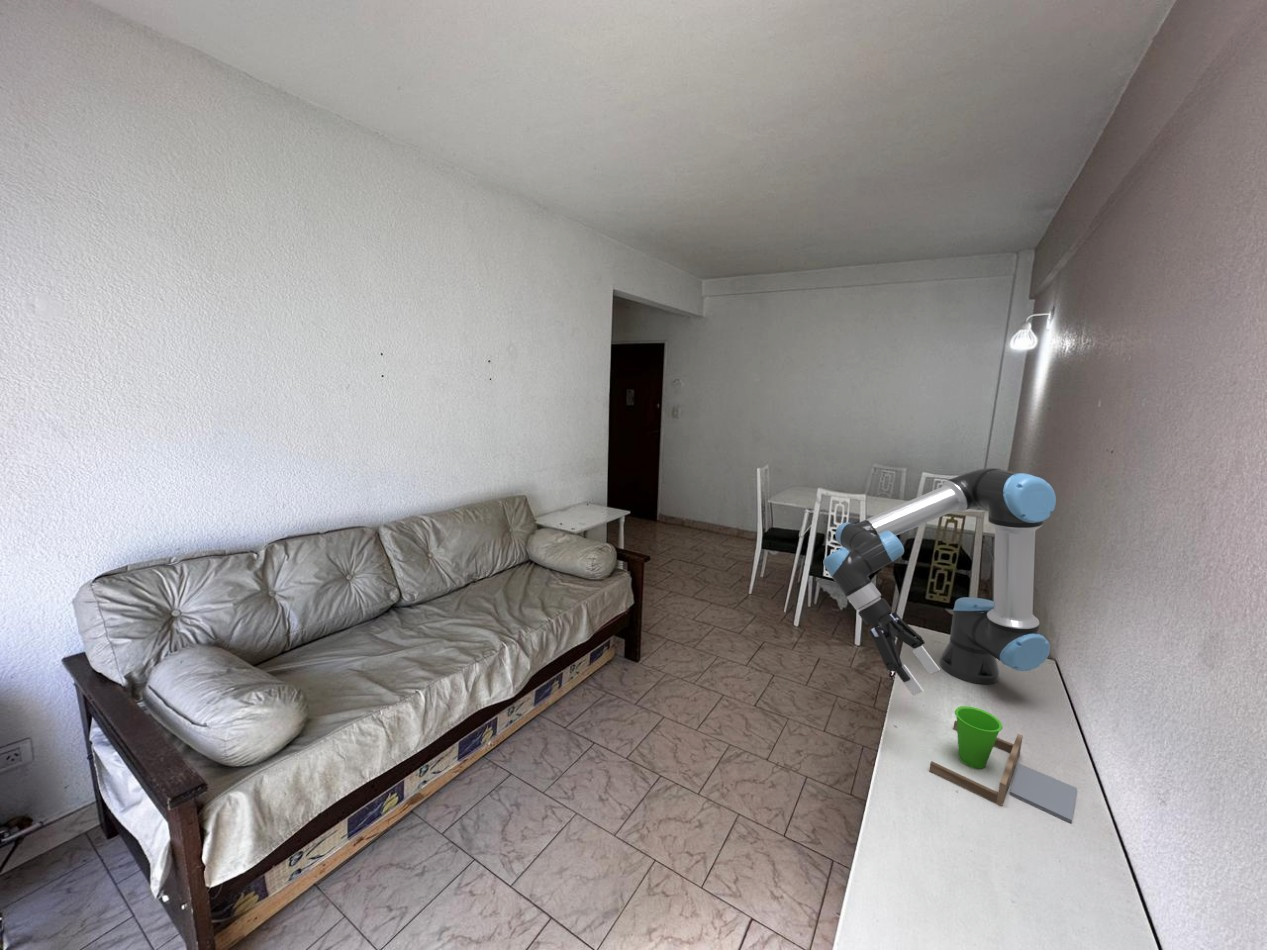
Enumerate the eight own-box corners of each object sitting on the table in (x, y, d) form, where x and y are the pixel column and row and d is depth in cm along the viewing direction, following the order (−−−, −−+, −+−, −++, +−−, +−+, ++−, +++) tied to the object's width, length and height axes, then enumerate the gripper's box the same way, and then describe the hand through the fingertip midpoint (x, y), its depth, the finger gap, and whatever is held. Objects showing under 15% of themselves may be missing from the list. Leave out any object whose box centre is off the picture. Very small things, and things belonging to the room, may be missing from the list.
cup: (940, 753, 119) (945, 710, 117) (966, 744, 122) (972, 702, 120) (978, 780, 110) (984, 735, 109) (1004, 769, 114) (1011, 725, 112)
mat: (1018, 766, 115) (1019, 763, 115) (1076, 791, 108) (1077, 788, 108) (1009, 794, 106) (1010, 791, 106) (1071, 823, 100) (1072, 820, 99)
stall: (954, 727, 128) (956, 709, 127) (1019, 754, 119) (1022, 735, 118) (929, 771, 113) (931, 751, 112) (1002, 806, 103) (1005, 785, 103)
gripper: (875, 598, 141) (928, 669, 132) (838, 624, 123) (896, 708, 115) (898, 585, 136) (954, 658, 128) (862, 611, 119) (925, 697, 110)
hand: (927, 682), depth 121 cm, fingers open, 13 cm apart
